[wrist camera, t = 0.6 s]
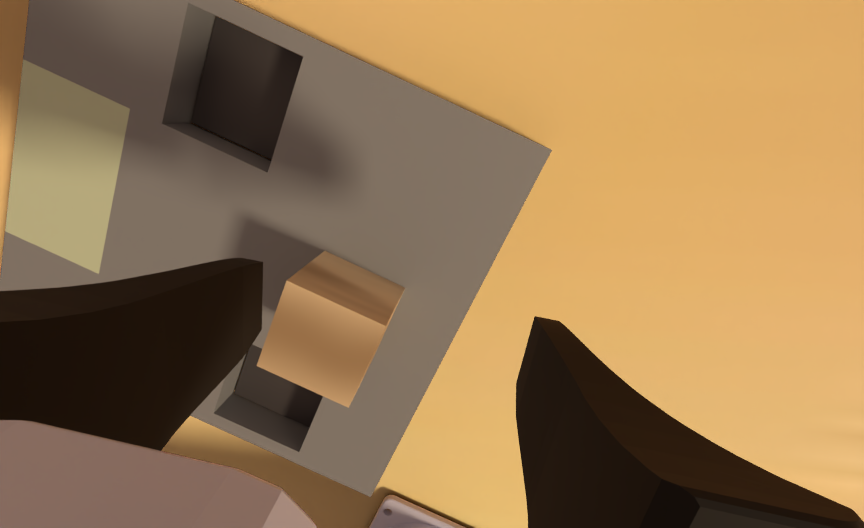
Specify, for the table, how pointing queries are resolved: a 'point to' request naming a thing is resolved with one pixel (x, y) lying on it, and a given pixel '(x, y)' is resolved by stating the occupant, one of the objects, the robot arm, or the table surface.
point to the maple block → (329, 326)
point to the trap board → (258, 194)
